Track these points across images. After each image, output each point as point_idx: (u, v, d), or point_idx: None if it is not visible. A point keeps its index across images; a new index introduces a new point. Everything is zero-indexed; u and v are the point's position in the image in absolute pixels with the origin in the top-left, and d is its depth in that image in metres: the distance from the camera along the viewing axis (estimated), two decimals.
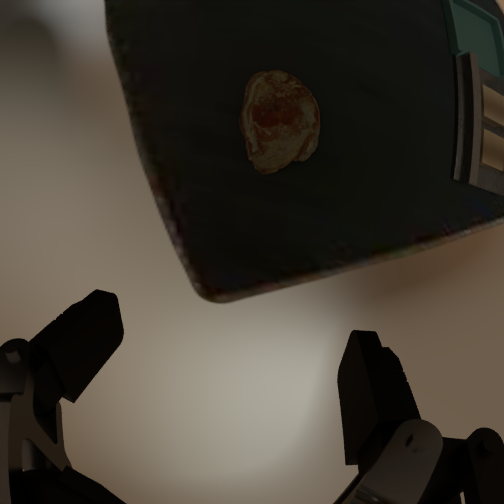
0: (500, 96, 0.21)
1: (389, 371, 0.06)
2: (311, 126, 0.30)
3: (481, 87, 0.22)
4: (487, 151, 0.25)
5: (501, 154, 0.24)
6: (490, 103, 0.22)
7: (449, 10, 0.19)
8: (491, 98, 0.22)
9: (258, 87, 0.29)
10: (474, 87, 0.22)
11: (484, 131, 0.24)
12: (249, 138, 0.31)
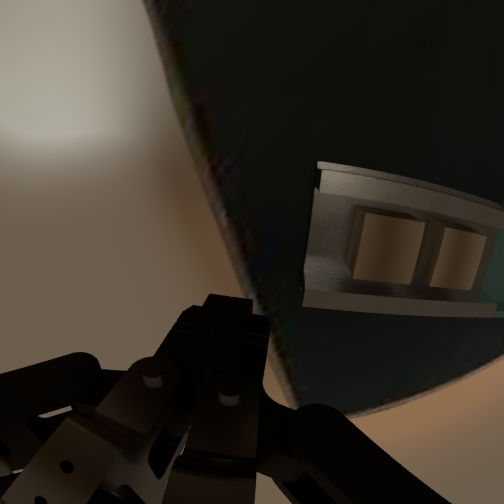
0: (471, 279, 0.18)
1: (241, 331, 0.07)
2: None
3: (480, 234, 0.17)
4: (387, 229, 0.18)
5: (383, 272, 0.19)
6: (462, 248, 0.17)
7: None
8: (469, 253, 0.17)
9: None
10: (483, 209, 0.15)
11: (420, 224, 0.17)
12: None
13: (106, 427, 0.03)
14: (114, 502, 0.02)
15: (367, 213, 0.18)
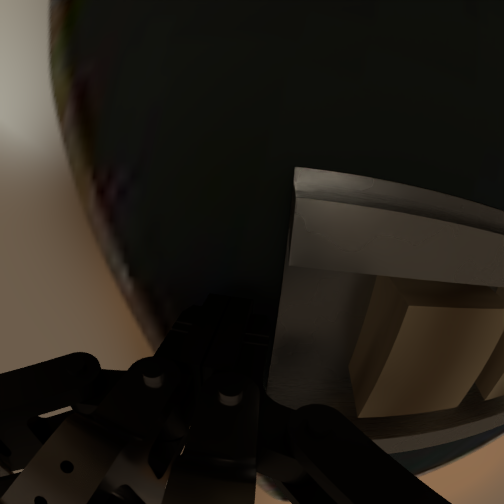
0: None
1: (241, 331, 0.07)
2: None
3: None
4: (446, 333, 0.07)
5: (419, 402, 0.08)
6: None
7: None
8: None
9: None
10: None
11: None
12: None
13: (106, 427, 0.03)
14: (114, 502, 0.02)
15: (411, 305, 0.07)
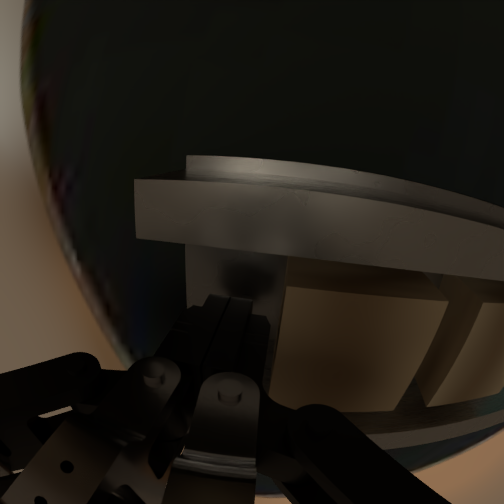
0: None
1: (241, 331, 0.07)
2: None
3: None
4: (347, 323, 0.07)
5: (336, 399, 0.08)
6: None
7: None
8: None
9: None
10: None
11: (437, 304, 0.07)
12: None
13: (106, 427, 0.03)
14: (114, 502, 0.02)
15: (292, 287, 0.07)
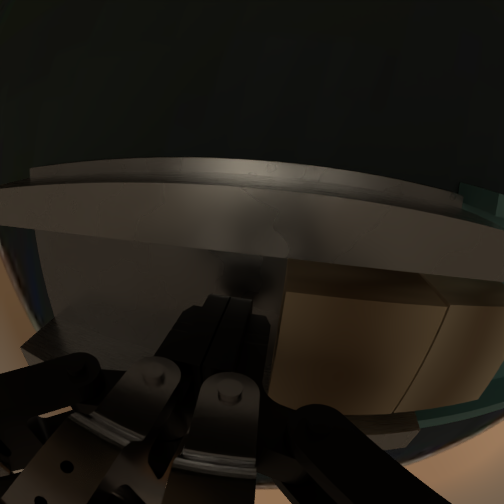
0: (484, 384, 0.07)
1: (241, 331, 0.07)
2: None
3: None
4: (346, 328, 0.07)
5: (335, 402, 0.08)
6: (480, 340, 0.07)
7: None
8: (492, 346, 0.07)
9: None
10: (328, 210, 0.06)
11: (435, 310, 0.07)
12: None
13: (106, 427, 0.03)
14: (114, 502, 0.02)
15: (291, 292, 0.07)
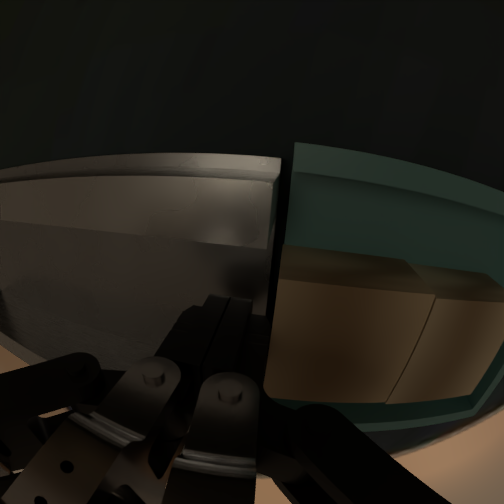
0: (476, 379, 0.08)
1: (241, 331, 0.07)
2: None
3: None
4: (336, 314, 0.08)
5: (329, 389, 0.09)
6: (470, 334, 0.07)
7: None
8: (482, 341, 0.07)
9: None
10: (64, 188, 0.07)
11: (424, 297, 0.07)
12: None
13: (106, 427, 0.03)
14: (114, 502, 0.02)
15: (284, 279, 0.08)
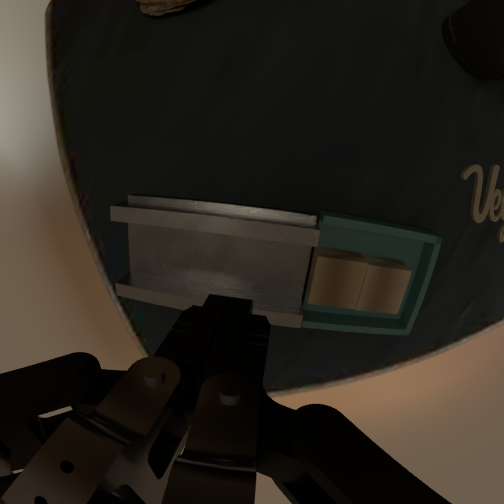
0: (397, 305, 0.25)
1: (241, 331, 0.07)
2: (173, 0, 0.18)
3: (406, 268, 0.24)
4: (335, 268, 0.25)
5: (332, 300, 0.26)
6: (386, 280, 0.25)
7: (401, 227, 0.24)
8: (393, 285, 0.25)
9: None
10: (249, 224, 0.23)
11: (363, 264, 0.24)
12: None
13: (106, 427, 0.03)
14: (114, 502, 0.02)
15: (319, 256, 0.25)
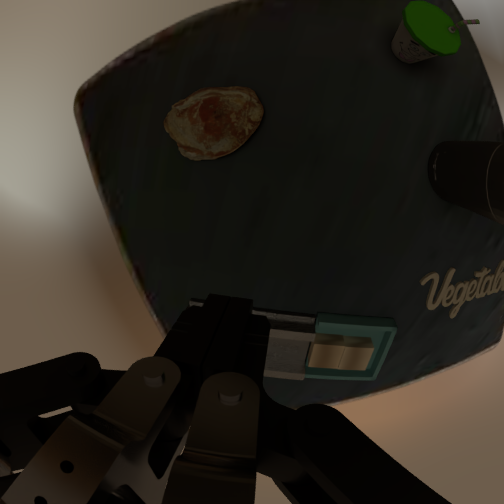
0: (365, 366, 0.40)
1: (241, 331, 0.07)
2: (209, 150, 0.34)
3: (371, 346, 0.39)
4: (324, 349, 0.40)
5: (323, 364, 0.41)
6: (357, 354, 0.39)
7: (369, 323, 0.39)
8: (362, 356, 0.39)
9: (238, 97, 0.31)
10: (274, 330, 0.39)
11: (342, 346, 0.39)
12: (186, 101, 0.31)
13: (106, 427, 0.03)
14: (114, 502, 0.02)
15: (315, 343, 0.40)
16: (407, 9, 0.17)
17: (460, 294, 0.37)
